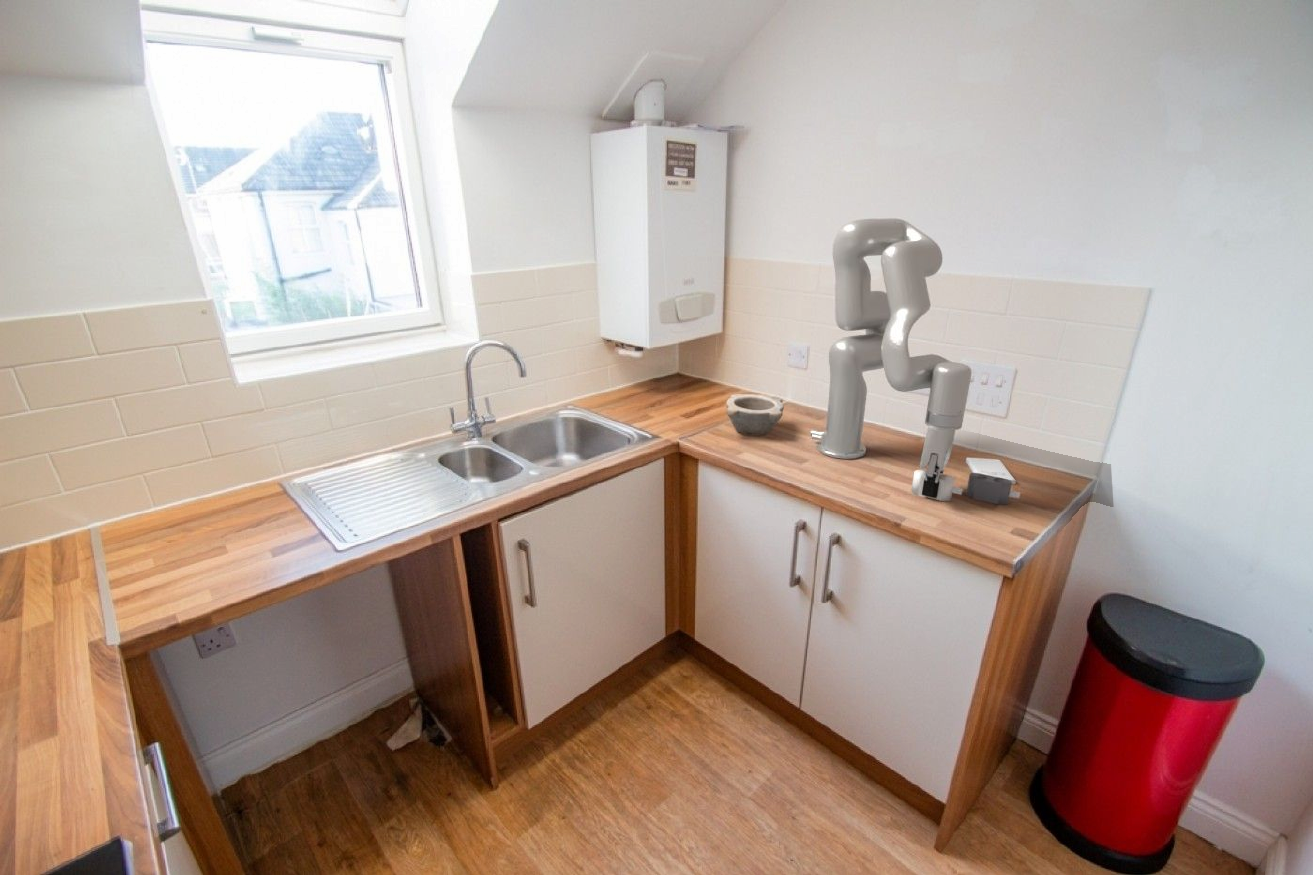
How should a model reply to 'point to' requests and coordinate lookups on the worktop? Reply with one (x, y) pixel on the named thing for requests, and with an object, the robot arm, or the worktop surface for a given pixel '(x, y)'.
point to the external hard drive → (989, 468)
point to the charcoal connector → (990, 489)
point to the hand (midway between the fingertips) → (931, 491)
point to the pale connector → (943, 490)
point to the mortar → (754, 413)
